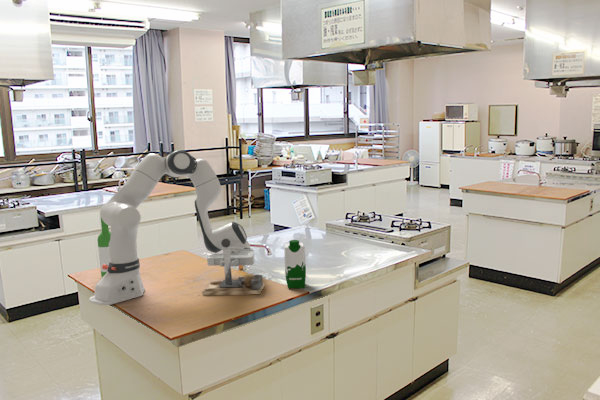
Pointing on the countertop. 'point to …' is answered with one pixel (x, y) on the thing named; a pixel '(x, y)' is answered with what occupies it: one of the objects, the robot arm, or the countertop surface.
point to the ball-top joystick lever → (229, 268)
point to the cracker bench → (248, 288)
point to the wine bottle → (104, 247)
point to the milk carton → (295, 264)
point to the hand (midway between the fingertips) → (226, 264)
